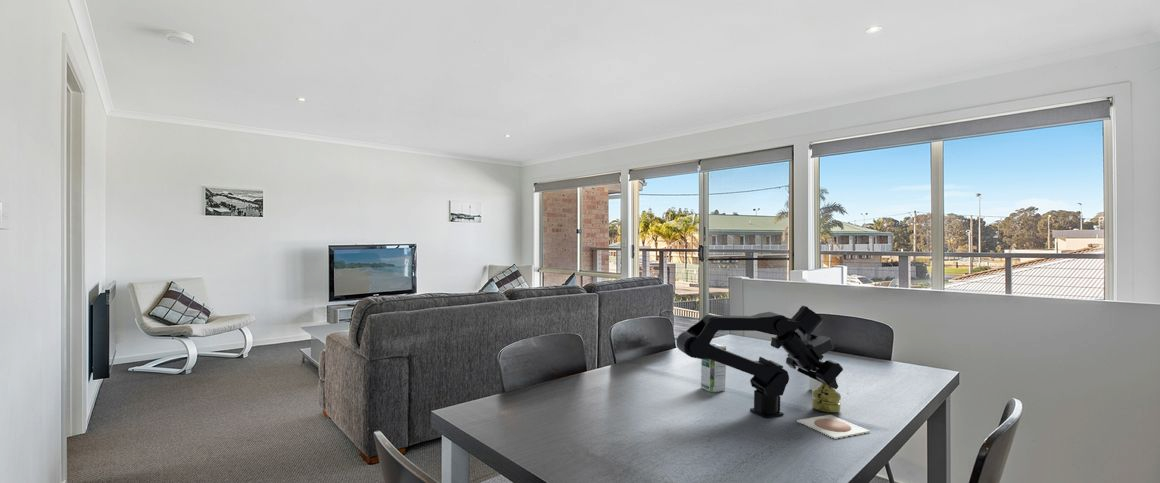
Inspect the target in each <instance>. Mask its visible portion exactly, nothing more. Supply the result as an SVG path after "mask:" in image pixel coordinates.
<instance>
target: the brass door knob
mask: <svg viewBox="0 0 1160 483" xmlns="http://www.w3.org/2000/svg"><path fill="white" fill-rule="evenodd" d="M835 380H836V381H837V377H836V378H835ZM811 395H812V398H811V406H812V407H813V408H814V409H815V410H817V411H821V412H825V413H838V412H840V411H841V403H842V402H840V401H841V399H842V398H841V397H842V395H841V393H839V391H837V389H834V388H832V387H830V386H828V385H826V384H824V383H822V382H821V385H820V386H819V387H818V388H817V389H814V390H813V391H811Z"/></svg>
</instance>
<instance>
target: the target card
mask: <svg viewBox="0 0 1160 483" xmlns="http://www.w3.org/2000/svg"><path fill="white" fill-rule="evenodd" d="M796 422H797V423H798V422H799V423H798V424H800V423H801V424H800V425H802V424H804V425H806V426H809V427H811V428H813V429H815V430H817V431H819V432H821V433H820V434H822V433H823V434H822V435H824V434H825V436H826V435H827V436H826V437H828V436H829V437H828V438H830V437H831V439H832V438H834V439H833V440H839V439H838V438H840V439H844V438H843V437H845V438H849V437H848V436H851V437H854V435H856V436H859V435H860V434H861V435H865V434H864V433H866V434H870V433H871V430H869V429H866V428H864V427H861V426H860V425H856V424H854V423H852V422H850V421H847V420H844V419H843V418H839V417H837V416H835V415H833V414H826V415H820V416H819V415H818V416H813V417H808V418H801V419H797V420H796ZM804 425H803V426H804ZM806 426H805V427H806ZM809 427H808V428H809ZM811 428H810V429H811ZM813 429H812V430H813ZM815 430H814V431H815ZM817 431H816V432H817ZM819 432H818V433H819ZM869 432H870V433H869Z"/></svg>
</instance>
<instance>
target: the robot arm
mask: <svg viewBox="0 0 1160 483" xmlns="http://www.w3.org/2000/svg"><path fill="white" fill-rule="evenodd" d="M823 322H824V321H823V318H822V317H821V315H819V314H818V313H816V312H815V311H814V310H812V309H810V308H809V307H808V306H807V305H801V306H800V307H799V308H798V310H797V312H796V313H795V314H794V315H793V316H792V317H791V318H790V317H787V316H785V315H783V314H780V313H775V312H773V311H766V312H765V311H764V312H759V313H757V314H754V315H721V314H719V315H716V314H715V315H713V314H705V316H703V317H702V318H701V320H699V321H698V322H696V323H695V324H693V325H691V326H690V327H689V328H688V329H687V330H686V331H683V332H681V333H680V334H679V335H678V336H677V339H676V347H677V348H678V350H679V351H680V352H682V353H684V354H685V355H687V356H688V357H689V358H692V359H700V360H702V359H710V360H714V361H716V362H719V363H722V364H724V365H726V367H730V368H733V369H736V370H739V371H741V372H743V373H746V374H749V375H752V376H753V377H751V378H750V380H749V382H750V385H751V387H752V388H754V389H755V390H753V393H754V394H753V407H750V408H749V411H751V412H753V413H755V414H756V415H758V416H761V417H763V418H765V419H769V418H773V417H780V416H784V412H781V396H783V395H784V393H785V390H786V387H787V386H788V383H789V380H790V376H789V372H788V370H786V369H784V366H783V365H782V364H780V363H777V362H775V361H774V360H771V359H766V358H764V357H762V356H759V358H758V360H753V359H749V358H747V357H744V356H742V355H739V354H736V353H734V352H731V351H728V350H727V349H726V350H723V349H721V348H718V347H715V346H713V345H711V344H710V343H712V341H713V338H715V337H714V336H715V335H716V334H717V333H718V331H732V332H733V331H737V332H738V331H739V332H740V331H741V332H742V331H744V332H745V331H746V332H747V331H748V332H754V331H755V332H759V333H764V334H768V335H773V337H771V342H770V346H771V347H772V348H775V349H777V350H779V349H780V348H782V349H783V350H784V351H785V352H786V353H787V354H786V356H788V357H786V360H785V363H786V365H788V367H790V369H793V370H796V369H797V370H796V371H797V372H799V373H800V374H802V375H804V376H807V377H808V378H809V377H811V378H813V379H815V380H817V381H819V382H822V383H824V384H826V385H828V386H830V387H832V388H834V389H835V390H837V389H838V388H839V384H838V382H837V380H835V378H836V379H837V378H838V377H839V375H841V373H842V372H843V371H844V368H843V366H841V364H840V363H839V362H837V361H834V360H831V359H826V360H825V361H823V362H820V361H819V360H822V358H823V359H824V354H827V353H828V352H830V351H833V350H835V347H834V344H833V341H832V339H831V338H830V337H828V336H824V335H816V334H814V332H815V330H816V329H817V328H818V327H819V326H820V325H822V323H823ZM801 336H802V337H804V336H806V341H805V340H804V338H802V337H801Z"/></svg>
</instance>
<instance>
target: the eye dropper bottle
mask: <svg viewBox="0 0 1160 483" xmlns="http://www.w3.org/2000/svg"><path fill="white" fill-rule="evenodd" d="M819 361H820V362H824V357H823V358H822V360H819ZM820 385H821V382H819V381H817V380H815V379H813V378H811V377H809V376H808V389H809V390H810V391H811V390H812V391H813V390H814V389H817V388H818V387H819V386H820ZM812 391H811V392H812Z"/></svg>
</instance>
